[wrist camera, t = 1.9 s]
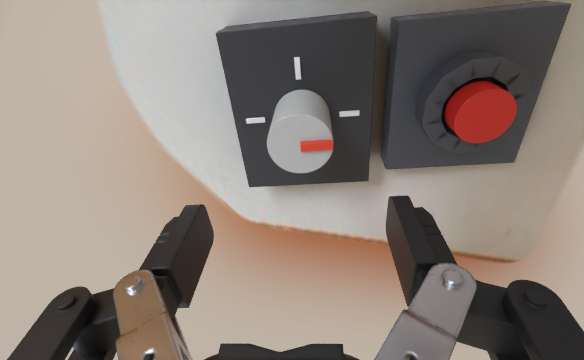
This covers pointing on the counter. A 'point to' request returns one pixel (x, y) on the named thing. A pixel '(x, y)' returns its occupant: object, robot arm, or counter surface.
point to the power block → (463, 78)
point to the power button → (480, 111)
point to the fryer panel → (302, 76)
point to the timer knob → (300, 132)
